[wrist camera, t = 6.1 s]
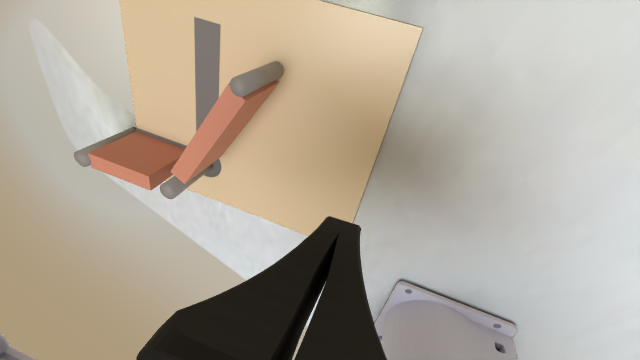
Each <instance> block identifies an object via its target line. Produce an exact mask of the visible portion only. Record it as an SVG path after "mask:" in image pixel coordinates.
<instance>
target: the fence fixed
mask: <svg viewBox="0 0 640 360" xmlns="http://www.w3.org/2000/svg"><path fill="white" fill-rule="evenodd" d="M184 150H185V149H184V148H181V147H179V146H176V145H173V144H170V143H168V142H165V141H162V140H159V139H157V138H154V137H151V136H148V135H146V134H143V133H140V132H137V130H136V128H130V129H128V130H125V131H123V132H121V133H118V134H116V135H114V136H111V137H109V138H107V139H104V140H102V141H100V142H97V143H95V144H93V145H90V146H88V147H86V148H83V149H81V150H79V151H76V152H75V153H74V157H75V159H76V161H77V162H78V163H79V164H80V165H82V166H84V167H87V166H89V165H91V167H92V168H94V169H97V170H100V171H102V172H105V173H107V174H110V175H112V176H115V177H117V178H120V179H123V180H125V181H128V182H130V183H133V184H135V185H138V186H140V187H143V188H146V189H148V190H152V189H153V188H155V187H156V186H158V185H159V184H161V183H162V182H164V181H165V180H167V179H168V178H170V177H171V176H172V175H173V174H172V173H171V172H170V171H171V170H172V168H173V167H174V165H175V164H176V162H177V161H178V159H179V158H180V156H181V155H182V153H183V152H184ZM212 168H213V163H212V164H211V165H210V166H208V167H207V168H206V169H204V170H203V171H202V172H200V173H199V174H198V175H196V176H195V177H194V178H192V179H191V180H190V181H188V182H187V183H186V184H184V183H182V182H181V181H180V180H179V179H178V178H177V177H176V176H173V177H172V178H170V179H169V180H168V181H166V182H165V183H163V184H162V185H161V186H160V191H161V193H162V194H163V195H164V196H165V197H166V198H168V199H173V198H175V197H176V196H177V195H179V194H180V193H181V192H182V191H184V190H185V189H186V188H188V187H189V186H190V185H191V184H193V183H194V182H195V181H197V180H198V179H199V178H200V177H202V176H203V175H204V174H206V173H207V172H208V171H210V170H211V169H212Z"/></svg>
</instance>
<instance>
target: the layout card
mask: <svg viewBox="0 0 640 360" xmlns="http://www.w3.org/2000/svg"><path fill="white" fill-rule="evenodd" d="M119 2H120V8H121V16H122V24H123V31H124V39H125V46H126V53H127V61H128V67H129V75H130V83H131V90H132V97H133V103H134V104H133V105H134V112H135V119H136V127H137V128H136V130H137V132H140V133H143V134H146V135H148V136H151V137H154V138H157V139H159V140H162V141H165V142H168V143H170V144H173V145H176V146H179V147H181V148H184V149H186V147H187V146H188V144H189V143H190V141H191V139H192V138H193V136H194V135H195V133H196V132H197V130H198V129H199V127H200V126H201V124H202V123H203V121H204V120H205V118H206V117H207V115H208V114H209V112H210V111H211V109H212V108H213V106H214V104H215V103H216V101H217V100H218V98H219V97H220V95H221V94H222V92H223V91H224V89H225V88H226V86H227V85H228V84H229V83H230V81H231V79H232V78H233V77H235V76H238V75H240V74H243V73H246V72H248V71H251V70H253V69H256V68H258V67H261V66H263V65H266V64H268V63H271V62H273V61H277V62H279V63H280V64H281V65H282V66H283V70H284V72H283V75H282V76H281V77H280V78H278V79H276V81H277V82H278V84H277V86H276V87H275V88H274V89H273V91H272V92H271V93H270V94H269V96H268V97H267V98H266V100H265V101H264V102H263V103H262V105H261V106H260V107H259V109H258V110H257V111H256V112H255V114H254V115H253V116H252V118H251V119H250V120H249V121H248V123H247V124H246V125H245V126H244V128H243V129H242V130H241V132H240V133H239V134H238V135H237V137H236V138H235V139H234V141H233V142H232V143H231V144H230V146H229V147H228V148H227V149H226V151H225V152H224V153H223V155H222V156H221V157H220V158H219V159H217V160H216V161H215V162H214V163H213V168H212V169H211V170H210V171H208V172H207V173H206V174H204V175H203V176H202V177H200V178H199V179H198V180H197V181H195V182H194V183H193V184H191V185H190V186H189V187H188V188H186V189H188V190H191V191H193V192H196V193H198V194H201V195H204V196H206V197H209V198H211V199H214V200H217V201H219V202H222V203H224V204H227V205H230V206H232V207H235V208H238V209H240V210H243V211H245V212H248V213H251V214H253V215H256V216H258V217H261V218H264V219H266V220H269V221H271V222H274V223H277V224H279V225H282V226H284V227H287V228H290V229H292V230H295V231H298V232H300V233H303V234H305V235H308V236H309V235H311V234H312V233H313V232H314V231H315V230H316V229H317V228H318V226H319V225H320V224H321V223H322V222H323V221H324V220H325V218H326V217H328V216H331V217H334V218H337V219H340V220H343V221H347V222H350V223H353V220H354V218H355V215H356V212H357V209H358V207H359V204H360V201H361V198H362V196H363V193H364V190H365V187H366V184H367V182H368V179H369V176H370V173H371V171H372V168H373V165H374V162H375V159H376V157H377V154H378V151H379V148H380V146H381V143H382V140H383V137H384V135H385V132H386V129H387V126H388V123H389V121H390V118H391V115H392V112H393V110H394V107H395V104H396V101H397V98H398V96H399V93H400V90H401V87H402V85H403V82H404V79H405V76H406V74H407V71H408V68H409V65H410V62H411V60H412V57H413V54H414V51H415V49H416V46H417V43H418V40H419V37H420V35H421V32H422V29H423V28H421V27H417V26H414V25H410V24H406V23H403V22H399V21H395V20H391V19H388V18H384V17H380V16H376V15H373V14H369V13H365V12H361V11H358V10H354V9H350V8H347V7H343V6H339V5H335V4H332V3H328V2H324V1H320V0H119ZM173 176H174V175H172V176H171V177H170V178H172V177H173ZM170 178H168V179H167V180H165V181H168V180H169V179H170Z"/></svg>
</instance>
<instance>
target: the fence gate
mask: <svg viewBox="0 0 640 360" xmlns="http://www.w3.org/2000/svg"><path fill="white" fill-rule="evenodd" d="M283 72H284V70H283V66H282V65H281V64H280V63H279V62H277V61H273V62H271V63H268V64H266V65H263V66H261V67H258V68H256V69H253V70H251V71H248V72H246V73H243V74H240V75H238V76H235V77H233V78H232V79H231V81H230V83H229V84H228V85H227V86H226V88H225V89H224V91H223V92H222V94H221V95H220V97H219V98H218V100H217V101H216V103H215V104H214V106H213V108H212V109H211V111H210V112H209V114H208V115H207V117H206V118H205V120H204V121H203V123H202V124H201V126H200V127H199V129H198V130H197V132H196V133H195V135H194V136H193V138H192V139H191V141H190V143H189V144H188V146H187V147H186V149H185V150H184V152H183V153H182V155H181V156H180V158H179V159H178V161H177V162H176V164H175V165H174V167H173V168H172V170H171V171H170V172H171V173H172V174H173V175H174V176H176V177H177V178H178V179H179V180H180V181H181V182H182V183H184V184H186V183H187V182H188V181H190V180H191V179H192V178H194V177H195V176H196V175H198V174H199V173H200V172H202V171H203V170H204V169H206V168H207V167H208V166H210V165H211V164H212V163H214V162H215V161H216V160H217V159H219V158H220V157H221V156H222V155H223V153H224V152H225V151H226V149H227V148H228V147H229V146H230V144H231V143H232V142H233V141H234V139H235V138H236V137H237V135H238V134H239V133H240V132H241V130H242V129H243V128H244V126H245V125H246V124H247V123H248V121H249V120H250V119H251V118H252V116H253V115H254V114H255V112H256V111H257V110H258V109H259V107H260V106H261V105H262V103H263V102H264V101H265V100H266V98H267V97H268V96H269V94H270V93H271V92H272V91H273V89H274V88H275V87H276V86H277V84H278V82H277V81H276V79H278V78H280V77H281V76H282V75H283Z"/></svg>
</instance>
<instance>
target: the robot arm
mask: <svg viewBox="0 0 640 360" xmlns="http://www.w3.org/2000/svg"><path fill="white" fill-rule="evenodd" d="M360 231H361V228H360V226H359V225H356V224H353V223H350V222H347V221H343V220H340V219H337V218H334V217H331V216H328V217H326V218H325V220H324V221H323V222H322V223H321V224H320V225H319V226H318V228H317V229H316V230H315V231H314V232H313V233H312V234H311V235H309V236H308V237H307V238H306V239H305V240H304V241H303V242H302V243H301V244H299V245H298V246H297V247H296V248H295V249H293V250H292V251H291V252H289V253H288V254H287V255H286V256H284V257H283V258H282V259H280V260H279V261H277V262H276V263H275V264H273V265H272V266H270V267H269V268H267V269H265V270H264V271H262V272H261V273H259V274H257V275H256V276H254V277H252V278H250V279H249V280H247V281H245V282H243V283H241V284H240V285H237V286H235V287H233V288H231V289H229V290H227V291H225V292H223V293H221V294H219V295H216V296H214V297H212V298H209V299H207V300H204V301H202V302H199V303H197V304H194V305H192V306H189V307H186V308H183V309H181V310H178V311H176V312H175V313H174V315H172V316H171V317H170V318H169V319H168V320H167V321H166V322H165V323H164V324H163V325H162V326H161V327H160V328H159V329H158V330H157V332H156V333H155V334H154V335H153V336H152V338H151V339H150V340H149V341H148V342H147V344H146V345H145V346H144V347H143V349H142V350H141V351H140V352H139V354H138V356H137V360H292V357H293V355H294V352H295V350H296V347H297V344H298V341H299V339H300V336H301V334H302V331H303V329H304V327H305V325H306V323H307V320H308V318H309V316H310V314H311V312H312V310H313V308H314V306H315V303H316V301H317V299H318V297H319V295H320V293H321V291H322V289H323V286H324V284H325V286H324V289H323V291H322V294H321V296H320V299H319V301H318V304H317V306H316V309H315V311H314V314H313V316H312V319H311V321H310V324H309V326H308V329H307V331H306V333H305V336H304V338H303V341H302V343H301V346H300V348H299V350H298V353H297V355H296V357H295V359H294V360H518V359H517V355H516V351H515V347H514V343H513V339H512V337H513V336H515V335H516V334H517V332H518V331H517V327H516V325H514V324H512V323H510V322H507V321H504V320H502V319H499V318H497V317H494V316H492V315H489V314H486V313H484V312H481V311H479V310H476V309H474V308H471V307H468V306H466V305H463V304H461V303H458V302H455V301H453V300H450V299H448V298H445V297H443V296H440V295H437V294H435V293H432V292H430V291H427V290H425V289H422V288H419V287H417V286H414V285H412V284H409V283H406V282H403V281H400V282H398V283H397V284H396V286H395V287H394V289H393V291H392V293H391V295H390V297H389V298H388V300H387V302H386V304H385V306H384V307H383V309H382V311H381V313H380V315H379V317H378V318H377V320H376V322H375V324H374V322H373V318H372V315H371V312H370V308H369V304H368V300H367V296H366V291H365V286H364V281H363V275H362V268H361V259H360ZM326 280H327V281H326ZM325 282H326V283H325ZM407 289H410V290H407ZM380 341H382V345H381V342H380ZM0 360H36V359H34V358H32V357H30V356H28V355H26V354H24V353H22V352H20V351H18V350H16V349H14V348H12V347H10V346H9V343H8V342H7V340H6V338H5V337H4V336H3V335H2V334H1V333H0Z"/></svg>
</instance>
